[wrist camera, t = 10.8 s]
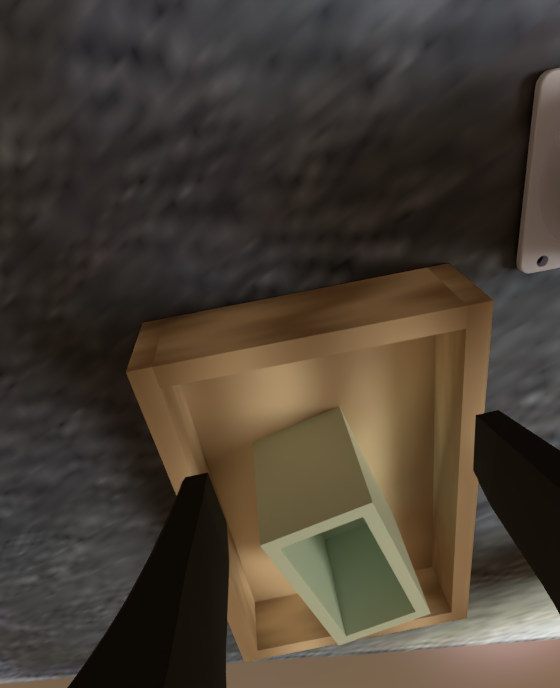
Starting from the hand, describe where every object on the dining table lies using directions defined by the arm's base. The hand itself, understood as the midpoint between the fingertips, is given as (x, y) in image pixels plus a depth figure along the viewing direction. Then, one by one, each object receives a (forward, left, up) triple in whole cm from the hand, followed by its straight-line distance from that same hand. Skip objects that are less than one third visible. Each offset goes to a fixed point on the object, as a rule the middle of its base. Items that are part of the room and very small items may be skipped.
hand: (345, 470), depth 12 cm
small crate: (0, +10, -9) cm, 14 cm away
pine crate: (0, +10, -10) cm, 14 cm away
